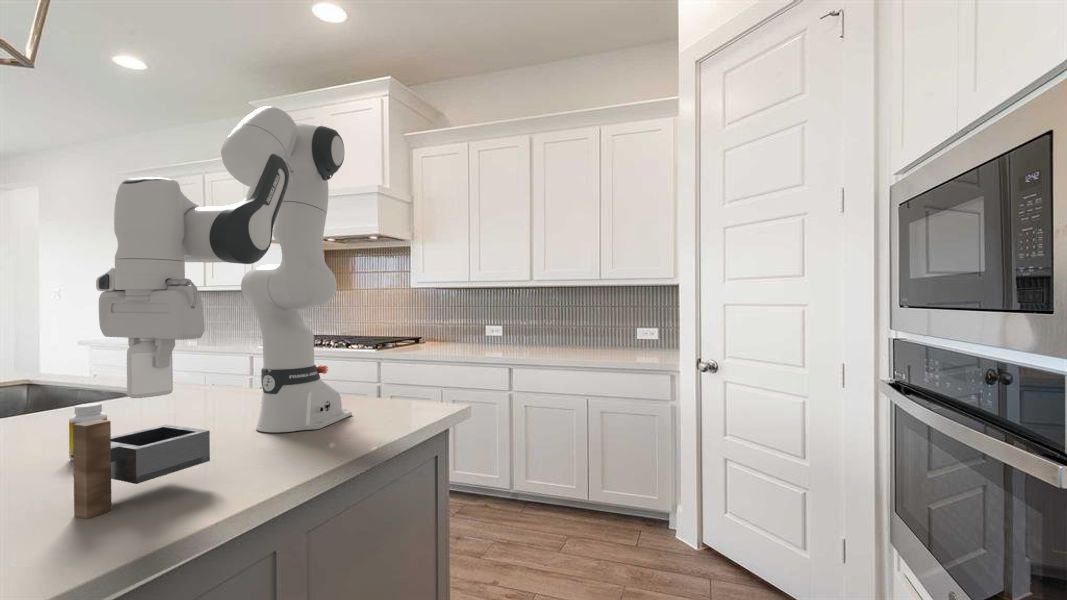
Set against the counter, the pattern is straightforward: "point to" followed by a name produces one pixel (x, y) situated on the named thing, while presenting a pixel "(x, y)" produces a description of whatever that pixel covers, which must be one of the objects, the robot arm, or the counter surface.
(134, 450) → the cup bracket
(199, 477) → the counter surface
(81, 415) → the supplement bottle
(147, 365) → the eye dropper bottle
